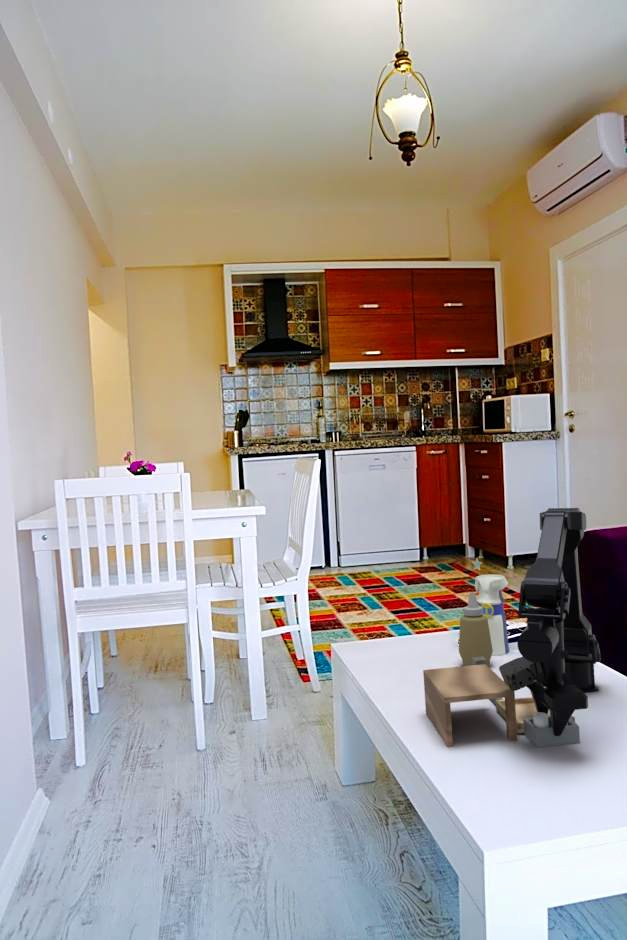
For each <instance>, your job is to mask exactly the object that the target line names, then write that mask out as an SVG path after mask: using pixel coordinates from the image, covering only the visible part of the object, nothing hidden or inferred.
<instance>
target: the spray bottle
mask: <svg viewBox="0 0 627 940" xmlns="http://www.w3.org/2000/svg"><path fill="white" fill-rule="evenodd" d="M471 563H472V564H473V565H474V567H473V570H479V571H481V566H482V564H483V562H481V561H479V559H478V557H476V559H475V560H472V561H471ZM474 580H475V582H474V588H475V591H476V592H478V597H477V598H476V599H477V603H478V606H481V607H483V615H484V616H486V617H487V619H488V625H489V631H490V637H491V643H492V649H493V652H492V656H504V655H506V654H507V655H508V654H509V653H510V647H509V639H508V637H509V636H508V627H507V626H508V625H507V617H506V613H505V609H504V607H505V606H504V603H505V598H504V596H503V593H502V591H503V590H504V589H505V588H507V586H508V585H509V582H508V579H506V577H505V576H504V575H502V574H494V573H492V574H482V575H478V576H476V577H475V578H474ZM492 656H491V657H492Z"/></svg>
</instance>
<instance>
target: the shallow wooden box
mask: <svg viewBox="0 0 627 940" xmlns="http://www.w3.org/2000/svg"><path fill="white" fill-rule="evenodd" d="M482 664H486V665H487V660H486V659H485V658H484V657H473V658H472V665H482ZM490 701H492V703H493V704H494V705H495V710H496V711H497V712H498V713H499V714H500V715H501V716H502V718H503V719H504V720H505V721H506V711H505V698H494V699H490ZM515 709H516V726H517V734H524V723H523V718H533V714H534V713H536V712H537V710H536V707H535V704H534V701H533V697H532V696H528V697H519V698H517V697H515ZM548 716H550V710H548ZM570 719H571V720H572V721H574V722H575V723H576V718H575V716H573V714H572V715H571V717H570Z"/></svg>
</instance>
